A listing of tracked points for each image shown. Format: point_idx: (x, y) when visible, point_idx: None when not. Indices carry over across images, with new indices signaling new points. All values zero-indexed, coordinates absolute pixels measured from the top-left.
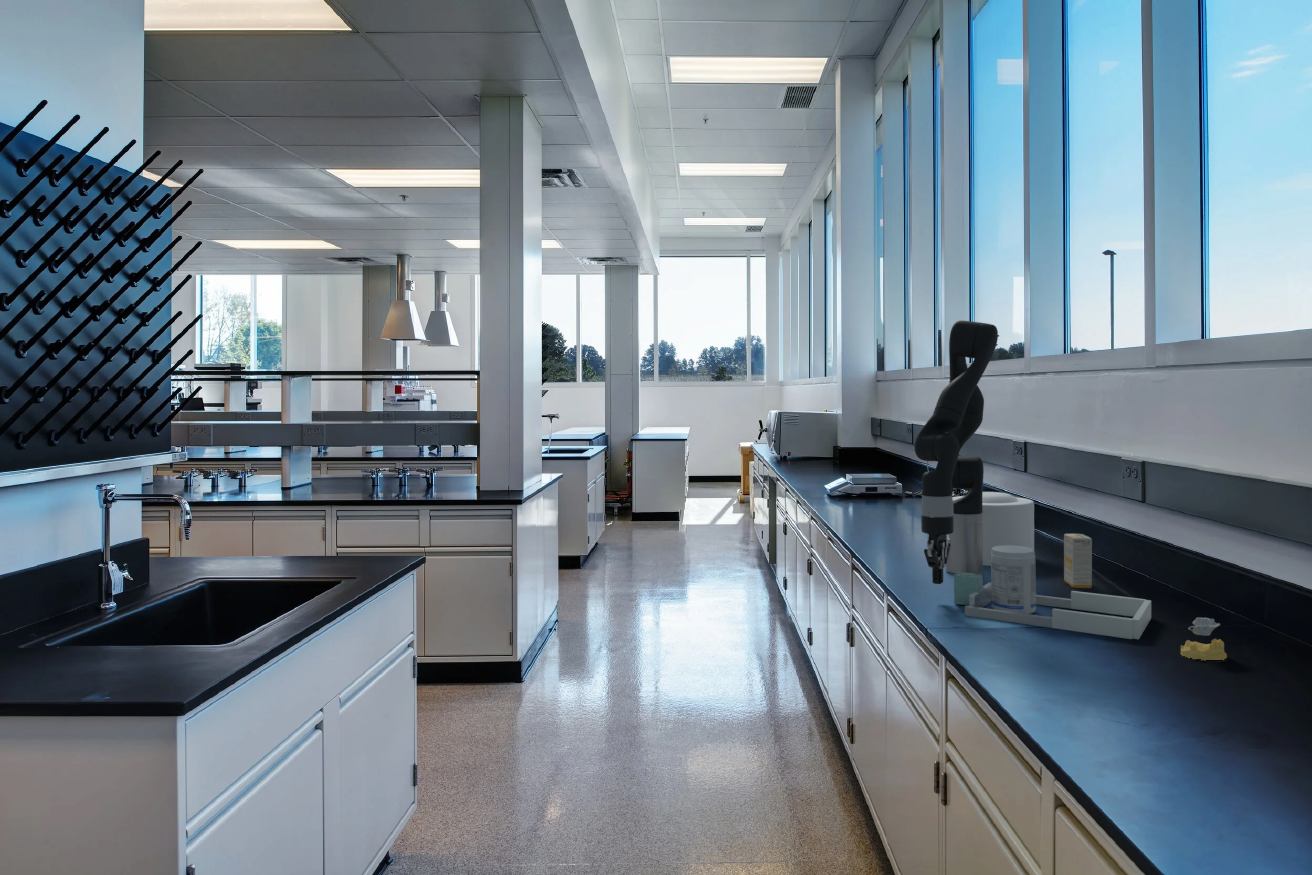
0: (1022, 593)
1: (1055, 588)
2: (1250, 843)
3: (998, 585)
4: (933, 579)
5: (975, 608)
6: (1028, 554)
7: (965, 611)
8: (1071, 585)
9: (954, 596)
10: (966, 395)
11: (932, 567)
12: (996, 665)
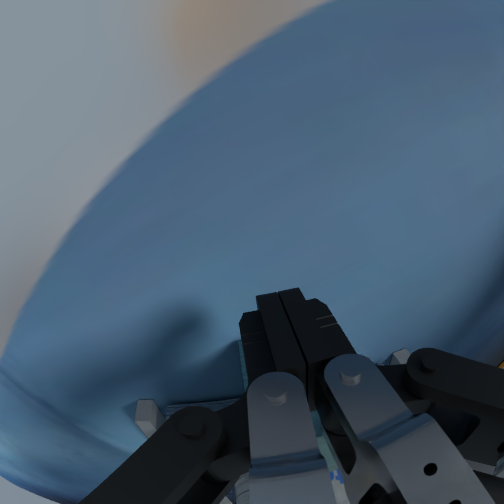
0: None
1: (490, 362)
2: (8, 480)
3: (240, 499)
4: (240, 325)
5: (147, 436)
6: None
7: (137, 410)
8: (498, 367)
9: (241, 362)
10: None
11: (219, 412)
12: (10, 444)
